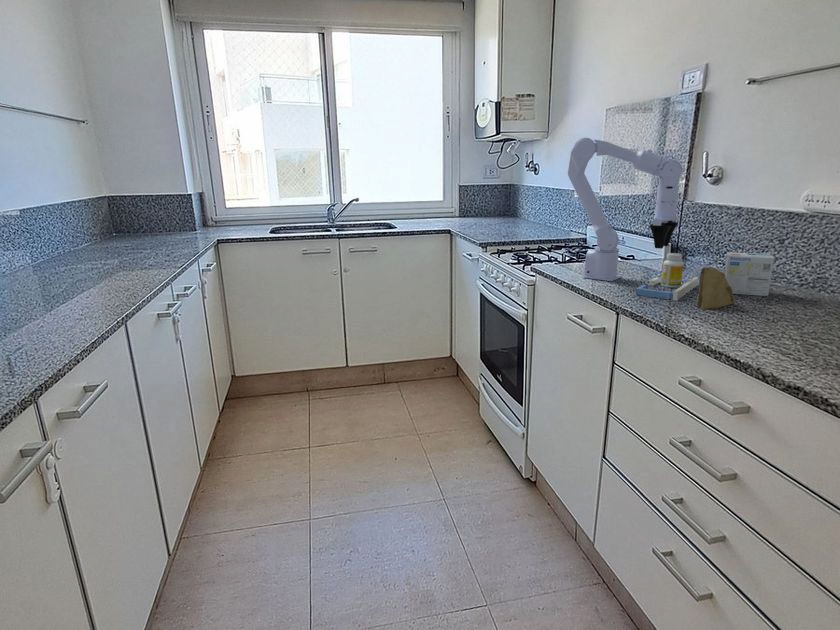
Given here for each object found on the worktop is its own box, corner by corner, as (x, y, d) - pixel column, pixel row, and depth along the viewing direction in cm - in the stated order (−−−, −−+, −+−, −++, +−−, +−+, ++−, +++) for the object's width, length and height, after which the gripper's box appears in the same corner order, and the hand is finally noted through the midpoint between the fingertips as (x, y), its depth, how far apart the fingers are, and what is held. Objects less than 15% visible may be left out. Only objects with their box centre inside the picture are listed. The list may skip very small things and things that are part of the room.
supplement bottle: (657, 286, 151) (661, 254, 148) (666, 283, 154) (669, 251, 151) (675, 289, 147) (679, 256, 144) (684, 286, 150) (688, 253, 147)
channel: (633, 294, 142) (634, 286, 141) (657, 280, 157) (658, 273, 156) (676, 300, 135) (677, 291, 134) (697, 285, 150) (698, 277, 149)
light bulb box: (764, 291, 142) (771, 253, 139) (768, 296, 136) (775, 257, 133) (720, 288, 147) (726, 251, 143) (723, 293, 141) (728, 255, 138)
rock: (730, 291, 134) (690, 285, 136) (746, 270, 127) (703, 264, 129) (734, 324, 128) (693, 317, 130) (751, 304, 121) (706, 297, 123)
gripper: (673, 203, 143) (668, 251, 147) (687, 200, 154) (682, 244, 157) (647, 203, 148) (643, 249, 151) (663, 199, 158) (658, 243, 162)
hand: (661, 247), depth 155 cm, fingers open, 5 cm apart
